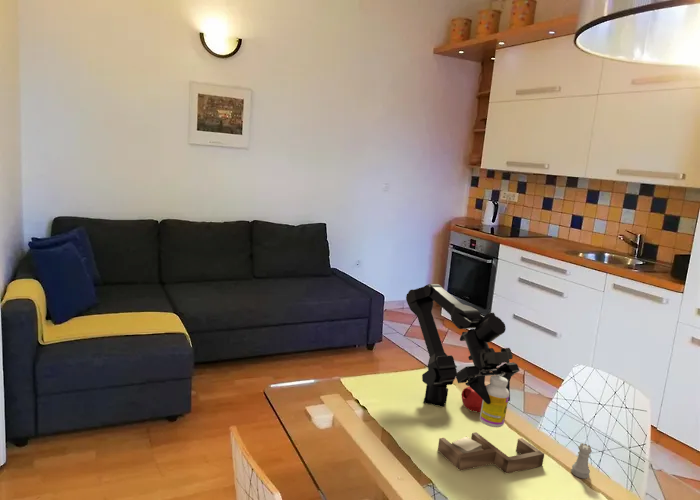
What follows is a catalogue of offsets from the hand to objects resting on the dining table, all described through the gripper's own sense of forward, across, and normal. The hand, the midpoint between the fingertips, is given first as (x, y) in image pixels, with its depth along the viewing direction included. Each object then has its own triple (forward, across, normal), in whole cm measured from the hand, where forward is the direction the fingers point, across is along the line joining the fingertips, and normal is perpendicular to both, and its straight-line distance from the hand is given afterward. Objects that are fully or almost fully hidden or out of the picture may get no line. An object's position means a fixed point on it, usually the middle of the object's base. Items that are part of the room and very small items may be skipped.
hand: (498, 402), depth 143 cm
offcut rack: (+13, -5, +5) cm, 15 cm away
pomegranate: (-5, +11, +23) cm, 26 cm away
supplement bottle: (+4, 0, +6) cm, 7 cm away
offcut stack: (+11, -11, +7) cm, 17 cm away
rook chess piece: (+22, +14, -4) cm, 26 cm away
